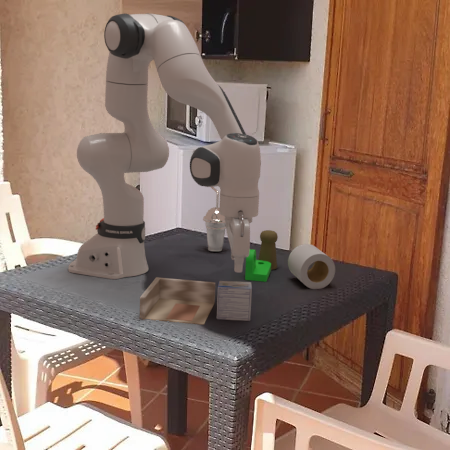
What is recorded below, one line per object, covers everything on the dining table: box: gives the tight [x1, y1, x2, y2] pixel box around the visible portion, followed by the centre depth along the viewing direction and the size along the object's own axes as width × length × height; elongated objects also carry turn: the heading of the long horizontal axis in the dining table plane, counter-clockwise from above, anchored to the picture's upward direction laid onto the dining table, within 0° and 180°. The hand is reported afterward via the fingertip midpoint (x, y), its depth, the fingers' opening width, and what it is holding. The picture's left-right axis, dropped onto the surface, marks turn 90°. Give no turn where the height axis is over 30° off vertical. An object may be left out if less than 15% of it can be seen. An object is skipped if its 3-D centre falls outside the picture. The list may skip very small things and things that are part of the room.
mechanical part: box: [244, 248, 272, 283], centre depth 190 cm, size 12×6×8 cm, turn 169°
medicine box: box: [216, 280, 253, 322], centre depth 156 cm, size 8×4×9 cm, turn 88°
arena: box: [139, 276, 216, 326], centre depth 159 cm, size 15×15×6 cm
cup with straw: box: [202, 187, 226, 252], centre depth 213 cm, size 8×9×20 cm
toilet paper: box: [287, 243, 336, 290], centre depth 184 cm, size 10×10×10 cm
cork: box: [257, 229, 279, 271], centre depth 197 cm, size 6×6×11 cm
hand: (236, 265), depth 154 cm, fingers open, 8 cm apart
